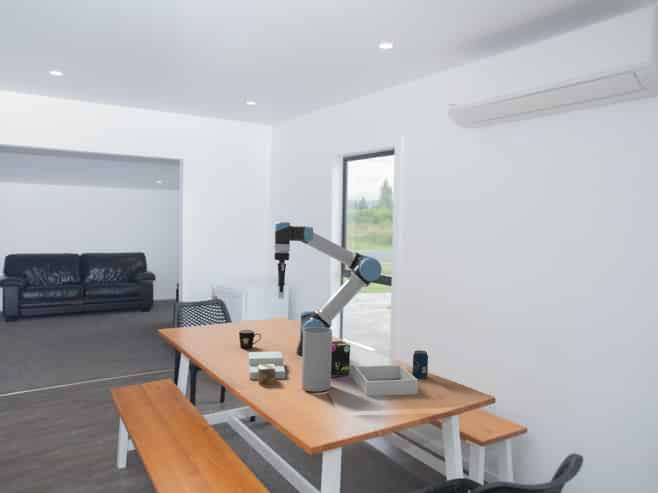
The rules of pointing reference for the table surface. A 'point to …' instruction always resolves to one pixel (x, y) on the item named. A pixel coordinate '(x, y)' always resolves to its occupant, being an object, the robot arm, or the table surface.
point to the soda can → (420, 364)
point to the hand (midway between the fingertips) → (280, 298)
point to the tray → (386, 387)
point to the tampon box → (340, 359)
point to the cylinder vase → (316, 359)
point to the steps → (265, 358)
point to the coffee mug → (247, 338)
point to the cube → (266, 374)
